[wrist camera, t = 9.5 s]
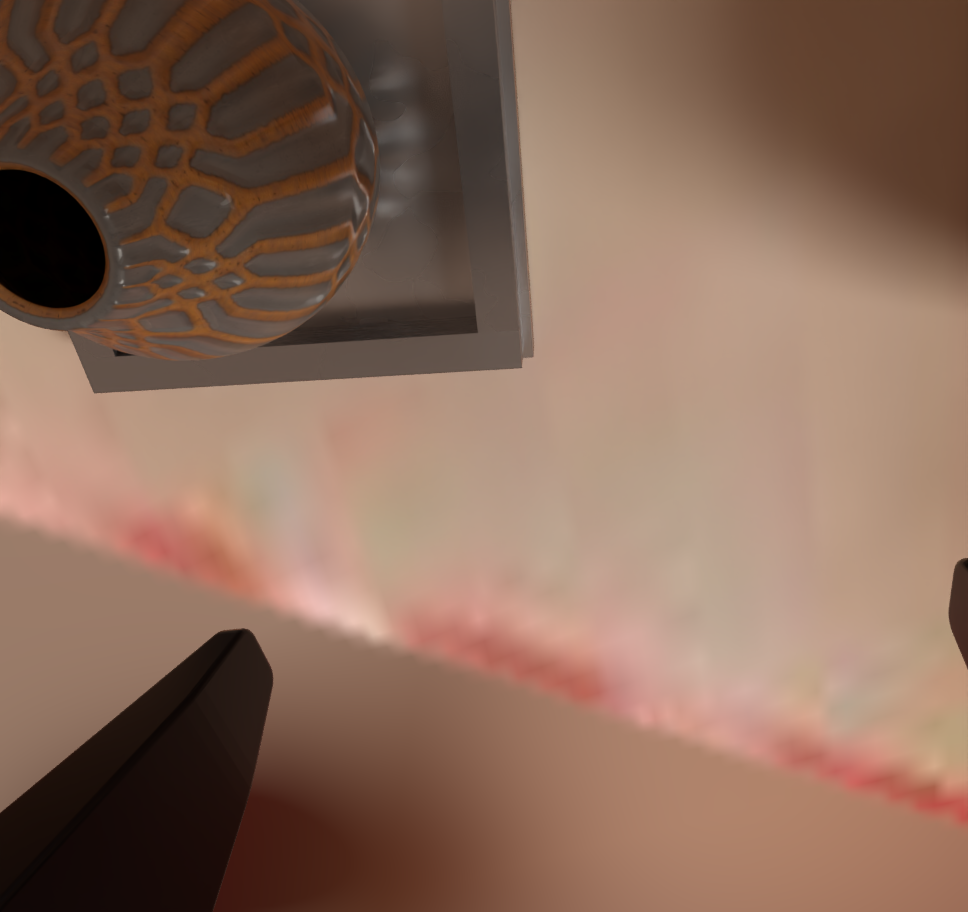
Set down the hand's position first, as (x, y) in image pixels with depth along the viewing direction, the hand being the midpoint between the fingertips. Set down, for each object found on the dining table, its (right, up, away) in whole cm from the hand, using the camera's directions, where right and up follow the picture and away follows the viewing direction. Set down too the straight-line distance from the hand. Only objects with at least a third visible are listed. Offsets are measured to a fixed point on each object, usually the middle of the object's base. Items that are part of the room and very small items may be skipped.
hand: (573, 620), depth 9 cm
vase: (-6, +10, +8) cm, 14 cm away
